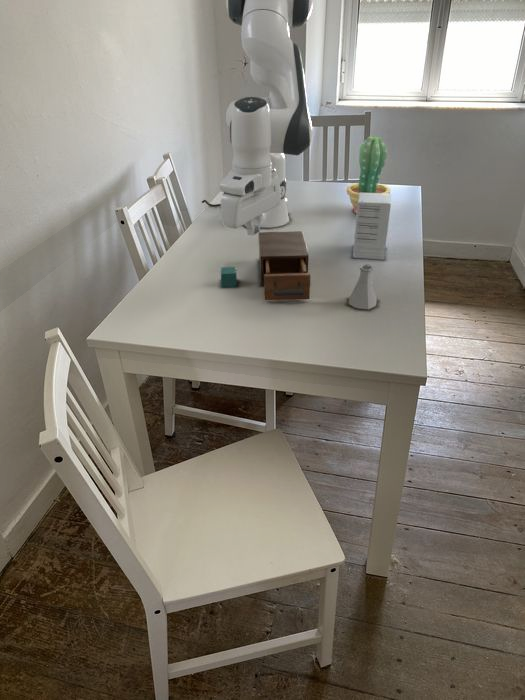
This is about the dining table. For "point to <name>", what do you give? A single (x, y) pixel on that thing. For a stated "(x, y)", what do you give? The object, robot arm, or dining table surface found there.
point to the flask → (363, 290)
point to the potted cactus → (369, 170)
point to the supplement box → (371, 225)
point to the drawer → (286, 279)
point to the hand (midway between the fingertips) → (253, 233)
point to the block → (228, 277)
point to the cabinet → (281, 248)
